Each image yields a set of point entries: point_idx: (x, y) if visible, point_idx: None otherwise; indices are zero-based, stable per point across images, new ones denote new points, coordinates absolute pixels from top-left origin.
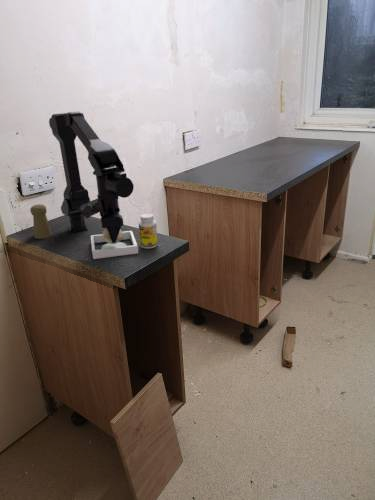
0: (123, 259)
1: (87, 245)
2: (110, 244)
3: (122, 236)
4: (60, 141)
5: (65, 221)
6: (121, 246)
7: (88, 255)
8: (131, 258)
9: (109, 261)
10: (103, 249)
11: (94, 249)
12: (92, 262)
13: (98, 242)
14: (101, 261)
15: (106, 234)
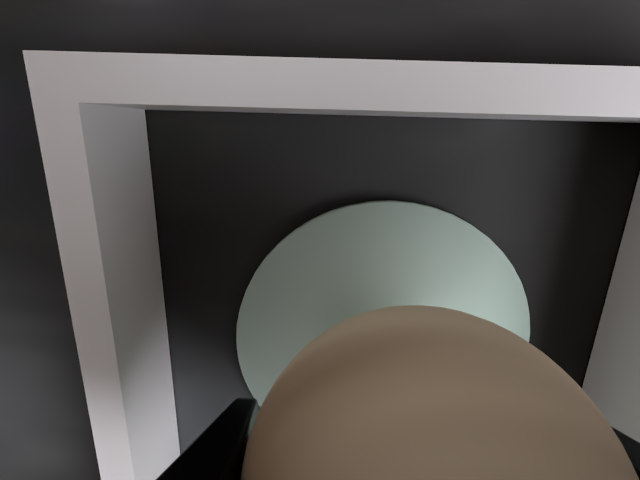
0: (45, 388)
1: (623, 16)
2: None
3: None
4: None
5: None
6: None
7: (247, 11)
8: (57, 452)
9: (12, 256)
10: (82, 244)
11: (108, 99)
12: (6, 55)
13: (638, 182)
14: (23, 170)
15: (292, 442)
